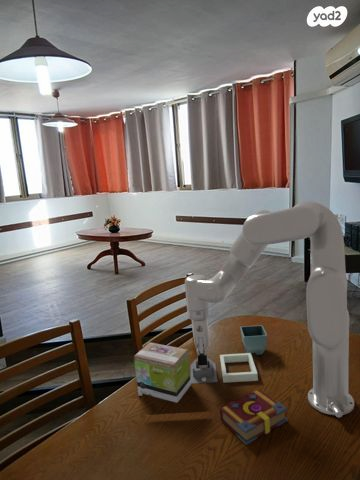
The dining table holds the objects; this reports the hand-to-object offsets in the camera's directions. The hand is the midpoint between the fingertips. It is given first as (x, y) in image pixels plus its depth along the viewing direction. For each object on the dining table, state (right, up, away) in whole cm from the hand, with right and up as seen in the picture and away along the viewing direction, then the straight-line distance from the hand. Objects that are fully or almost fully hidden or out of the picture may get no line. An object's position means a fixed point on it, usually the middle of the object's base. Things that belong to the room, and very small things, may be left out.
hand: (202, 361), depth 121 cm
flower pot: (+21, -2, +14) cm, 25 cm away
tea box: (-13, -9, -6) cm, 16 cm away
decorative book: (+13, -10, -22) cm, 27 cm away
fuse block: (0, -6, +1) cm, 6 cm away
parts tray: (+12, -5, +1) cm, 13 cm away
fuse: (0, -4, +1) cm, 4 cm away
